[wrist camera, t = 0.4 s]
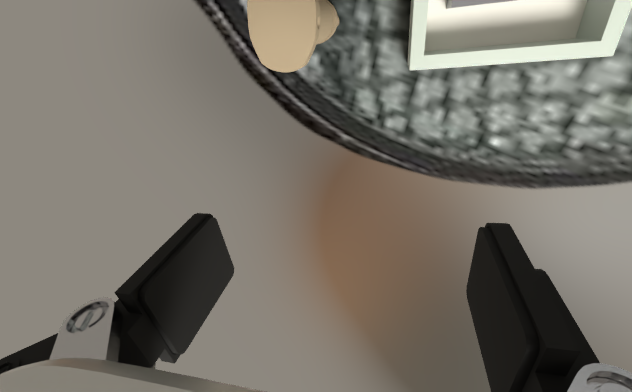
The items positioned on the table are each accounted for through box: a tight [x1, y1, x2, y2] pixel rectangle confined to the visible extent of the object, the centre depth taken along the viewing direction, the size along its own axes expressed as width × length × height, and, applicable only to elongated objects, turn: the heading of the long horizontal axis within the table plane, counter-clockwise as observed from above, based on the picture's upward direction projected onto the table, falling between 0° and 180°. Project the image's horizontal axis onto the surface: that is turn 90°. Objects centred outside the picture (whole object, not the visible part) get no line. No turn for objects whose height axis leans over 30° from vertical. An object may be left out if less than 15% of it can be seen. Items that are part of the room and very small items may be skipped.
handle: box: [247, 0, 339, 72], centre depth 26 cm, size 5×6×15 cm
